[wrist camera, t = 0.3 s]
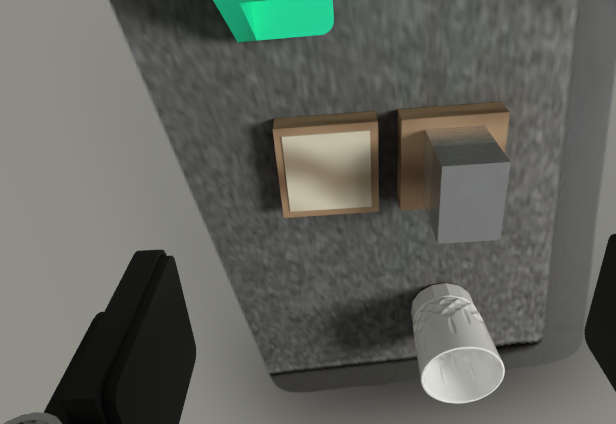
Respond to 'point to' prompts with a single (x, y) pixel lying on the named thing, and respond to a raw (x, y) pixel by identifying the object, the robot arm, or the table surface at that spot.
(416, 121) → the stand
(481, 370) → the white cup
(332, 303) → the table surface
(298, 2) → the camera mount
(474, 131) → the block
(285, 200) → the stand
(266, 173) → the table surface
